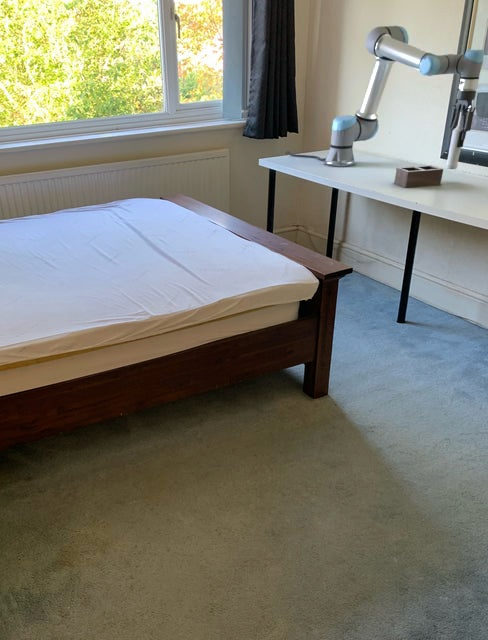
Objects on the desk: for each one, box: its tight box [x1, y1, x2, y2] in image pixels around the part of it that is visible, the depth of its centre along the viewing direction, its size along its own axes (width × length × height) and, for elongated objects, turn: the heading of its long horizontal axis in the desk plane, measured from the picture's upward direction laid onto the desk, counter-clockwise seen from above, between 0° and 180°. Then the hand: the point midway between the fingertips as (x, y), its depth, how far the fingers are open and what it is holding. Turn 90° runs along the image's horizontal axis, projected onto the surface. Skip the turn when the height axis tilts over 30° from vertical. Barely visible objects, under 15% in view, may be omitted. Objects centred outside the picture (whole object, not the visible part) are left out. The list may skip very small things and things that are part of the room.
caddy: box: [394, 164, 444, 189], centre depth 275 cm, size 10×18×7 cm, turn 104°
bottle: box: [445, 112, 462, 170], centre depth 272 cm, size 5×5×25 cm
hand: (455, 146), depth 273 cm, fingers closed on bottle, 5 cm apart
